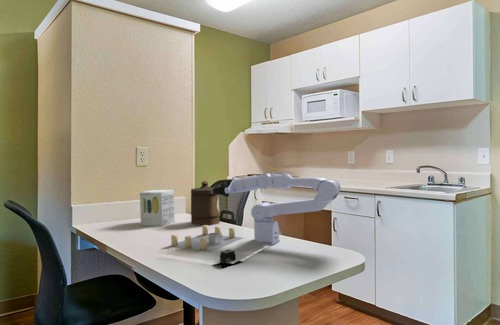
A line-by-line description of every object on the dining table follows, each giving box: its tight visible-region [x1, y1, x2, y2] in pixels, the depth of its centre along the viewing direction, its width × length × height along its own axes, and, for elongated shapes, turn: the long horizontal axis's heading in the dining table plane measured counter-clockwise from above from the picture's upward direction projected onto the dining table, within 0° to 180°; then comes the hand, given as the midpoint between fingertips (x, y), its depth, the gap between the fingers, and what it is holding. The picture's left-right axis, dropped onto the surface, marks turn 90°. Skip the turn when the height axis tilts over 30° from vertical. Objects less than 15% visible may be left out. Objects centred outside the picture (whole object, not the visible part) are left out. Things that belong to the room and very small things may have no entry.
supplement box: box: [139, 189, 176, 227], centre depth 187 cm, size 13×13×18 cm
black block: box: [211, 249, 245, 270], centre depth 113 cm, size 12×7×5 cm, turn 132°
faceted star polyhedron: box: [208, 231, 223, 245], centre depth 137 cm, size 6×5×4 cm
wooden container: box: [190, 180, 220, 226], centre depth 185 cm, size 15×15×22 cm
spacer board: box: [167, 225, 244, 253], centre depth 139 cm, size 20×24×5 cm
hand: (217, 188), depth 149 cm, fingers open, 7 cm apart
